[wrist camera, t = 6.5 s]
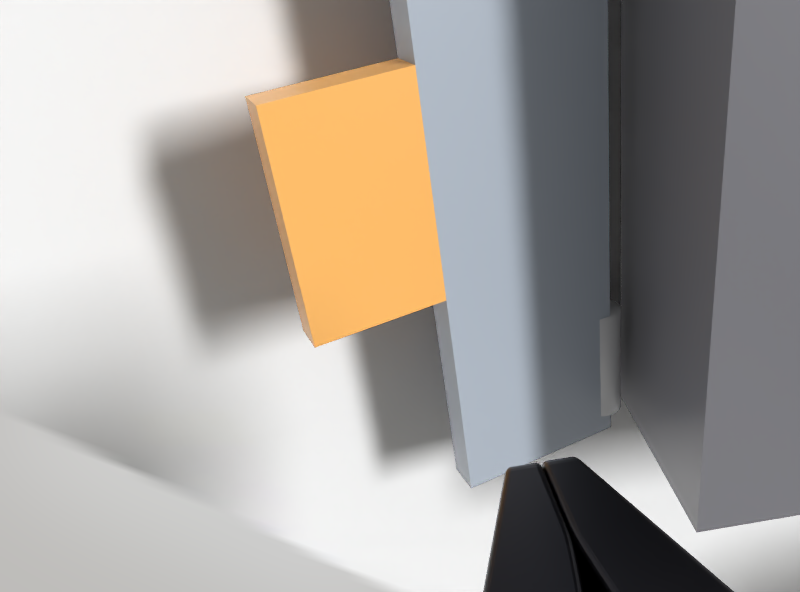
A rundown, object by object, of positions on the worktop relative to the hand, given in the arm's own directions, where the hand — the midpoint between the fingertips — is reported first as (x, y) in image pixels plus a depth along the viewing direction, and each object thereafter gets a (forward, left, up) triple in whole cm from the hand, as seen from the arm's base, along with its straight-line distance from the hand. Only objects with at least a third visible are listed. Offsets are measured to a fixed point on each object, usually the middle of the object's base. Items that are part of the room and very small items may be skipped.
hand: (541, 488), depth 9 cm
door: (+1, -4, -9) cm, 10 cm away
